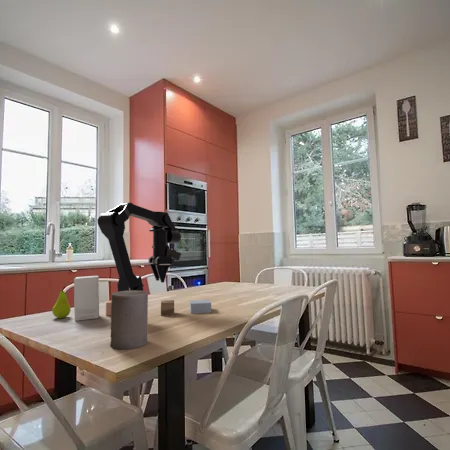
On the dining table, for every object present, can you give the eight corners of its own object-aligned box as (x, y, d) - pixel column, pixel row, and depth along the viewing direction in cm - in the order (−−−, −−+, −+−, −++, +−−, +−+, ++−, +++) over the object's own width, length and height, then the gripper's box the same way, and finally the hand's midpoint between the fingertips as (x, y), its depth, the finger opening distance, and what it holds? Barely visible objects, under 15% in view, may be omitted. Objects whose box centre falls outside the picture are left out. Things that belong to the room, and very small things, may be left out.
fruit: (48, 319, 115) (49, 286, 116) (63, 315, 121) (64, 284, 121) (59, 320, 112) (59, 287, 113) (74, 317, 118) (74, 285, 119)
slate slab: (211, 313, 121) (211, 302, 122) (191, 314, 120) (191, 303, 120) (209, 309, 129) (208, 299, 129) (190, 310, 128) (189, 300, 128)
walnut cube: (174, 315, 117) (174, 302, 118) (160, 316, 117) (160, 302, 117) (174, 312, 122) (174, 300, 123) (161, 313, 122) (161, 300, 122)
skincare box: (99, 315, 119) (99, 275, 121) (98, 319, 113) (98, 276, 114) (75, 317, 117) (76, 276, 118) (73, 321, 110) (73, 277, 112)
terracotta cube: (119, 314, 121) (119, 301, 121) (105, 315, 119) (106, 302, 119) (118, 312, 125) (118, 299, 126) (105, 313, 123) (105, 300, 124)
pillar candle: (102, 347, 80) (103, 289, 81) (127, 336, 89) (128, 284, 90) (131, 352, 76) (132, 291, 77) (155, 340, 85) (155, 286, 86)
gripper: (185, 242, 120) (186, 282, 119) (173, 243, 137) (173, 278, 136) (157, 242, 115) (157, 284, 114) (148, 243, 132) (148, 280, 131)
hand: (160, 281), depth 124 cm, fingers open, 9 cm apart
